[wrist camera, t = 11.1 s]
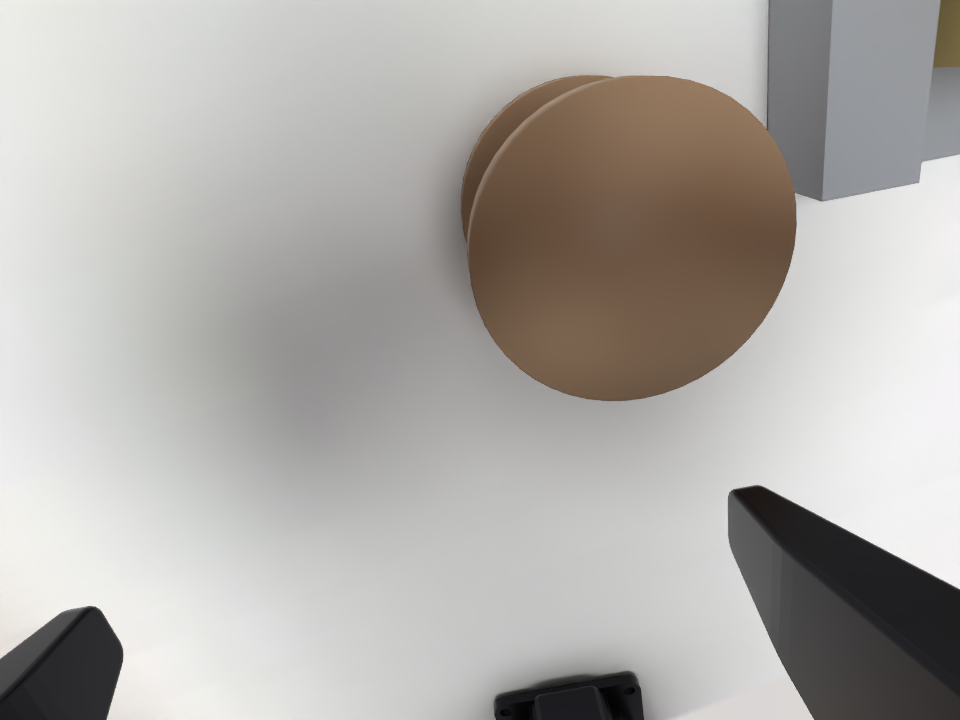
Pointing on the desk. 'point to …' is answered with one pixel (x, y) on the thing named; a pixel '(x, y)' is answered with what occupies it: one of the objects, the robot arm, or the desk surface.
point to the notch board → (858, 94)
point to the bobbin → (625, 232)
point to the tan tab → (948, 35)
